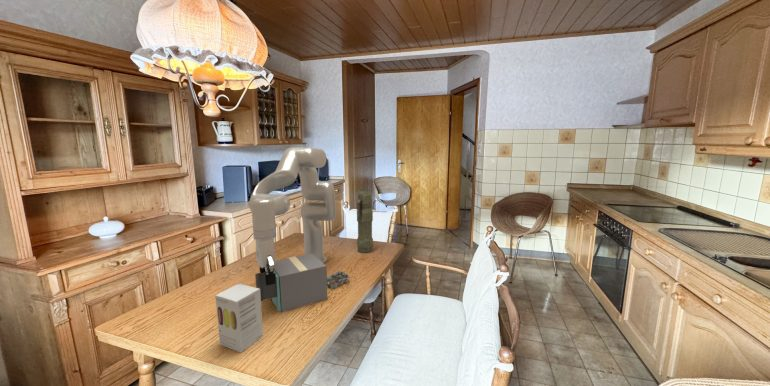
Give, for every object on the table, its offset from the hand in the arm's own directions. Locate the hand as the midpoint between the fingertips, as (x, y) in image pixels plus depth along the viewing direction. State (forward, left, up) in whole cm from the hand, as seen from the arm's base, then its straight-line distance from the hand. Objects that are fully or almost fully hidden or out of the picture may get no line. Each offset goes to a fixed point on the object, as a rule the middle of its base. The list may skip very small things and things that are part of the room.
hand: (267, 279), depth 113 cm
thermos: (-39, +61, -14) cm, 73 cm away
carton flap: (-7, 0, -13) cm, 15 cm away
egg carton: (-10, +31, -14) cm, 35 cm away
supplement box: (+11, -11, -14) cm, 21 cm away
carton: (-7, +13, -14) cm, 20 cm away
